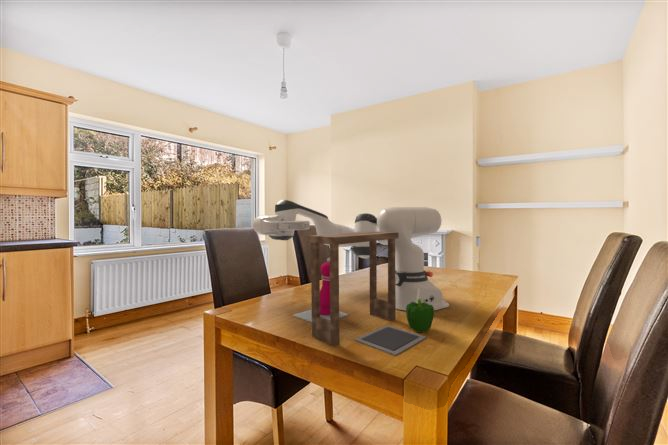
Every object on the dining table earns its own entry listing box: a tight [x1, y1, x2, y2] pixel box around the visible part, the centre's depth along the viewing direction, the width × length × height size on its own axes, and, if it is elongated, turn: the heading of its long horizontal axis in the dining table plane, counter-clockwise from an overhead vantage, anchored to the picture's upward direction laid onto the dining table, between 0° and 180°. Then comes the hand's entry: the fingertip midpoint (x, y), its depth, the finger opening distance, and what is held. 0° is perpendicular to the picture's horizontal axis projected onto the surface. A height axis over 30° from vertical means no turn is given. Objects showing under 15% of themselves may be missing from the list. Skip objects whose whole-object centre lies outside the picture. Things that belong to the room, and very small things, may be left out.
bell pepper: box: [405, 299, 435, 333], centre depth 95 cm, size 8×8×10 cm
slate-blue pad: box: [292, 308, 349, 324], centre depth 110 cm, size 14×14×1 cm
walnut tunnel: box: [306, 231, 399, 347], centre depth 97 cm, size 12×30×30 cm, turn 135°
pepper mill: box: [319, 257, 330, 315], centre depth 111 cm, size 7×7×20 cm
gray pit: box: [353, 324, 427, 357], centre depth 88 cm, size 14×16×1 cm
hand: (298, 226), depth 117 cm, fingers open, 8 cm apart
